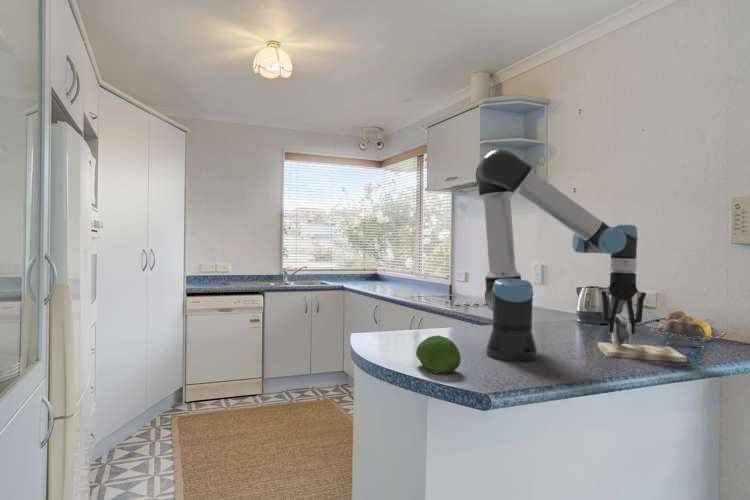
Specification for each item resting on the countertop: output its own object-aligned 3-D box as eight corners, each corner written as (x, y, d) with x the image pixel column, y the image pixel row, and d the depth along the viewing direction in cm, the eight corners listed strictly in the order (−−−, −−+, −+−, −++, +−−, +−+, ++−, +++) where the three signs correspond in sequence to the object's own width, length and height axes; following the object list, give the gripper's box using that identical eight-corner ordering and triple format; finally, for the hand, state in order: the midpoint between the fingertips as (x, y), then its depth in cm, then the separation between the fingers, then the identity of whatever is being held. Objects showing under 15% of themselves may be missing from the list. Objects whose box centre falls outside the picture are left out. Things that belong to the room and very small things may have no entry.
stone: (630, 351, 149) (632, 320, 149) (616, 350, 150) (618, 319, 150) (623, 345, 159) (625, 315, 159) (610, 343, 160) (612, 314, 160)
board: (606, 356, 148) (607, 351, 148) (597, 346, 164) (597, 342, 164) (686, 362, 142) (686, 357, 142) (669, 351, 158) (669, 346, 158)
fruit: (407, 367, 131) (407, 331, 131) (438, 364, 134) (439, 329, 134) (433, 381, 117) (434, 341, 117) (467, 378, 120) (468, 339, 120)
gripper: (597, 271, 153) (595, 343, 153) (655, 273, 148) (653, 347, 148) (593, 270, 160) (591, 339, 160) (648, 272, 155) (646, 343, 156)
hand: (621, 342), depth 154 cm, fingers closed on stone, 4 cm apart
